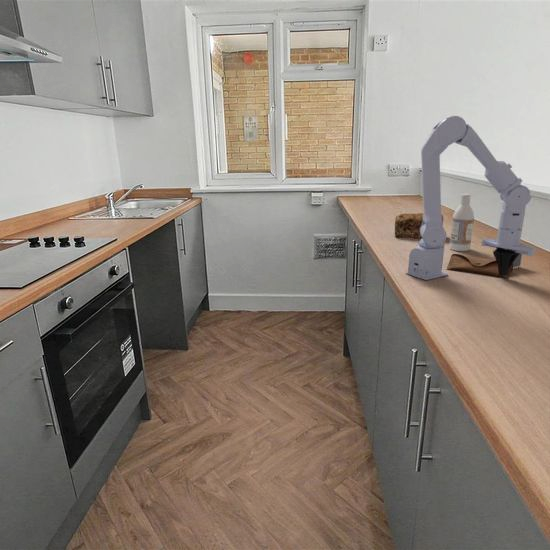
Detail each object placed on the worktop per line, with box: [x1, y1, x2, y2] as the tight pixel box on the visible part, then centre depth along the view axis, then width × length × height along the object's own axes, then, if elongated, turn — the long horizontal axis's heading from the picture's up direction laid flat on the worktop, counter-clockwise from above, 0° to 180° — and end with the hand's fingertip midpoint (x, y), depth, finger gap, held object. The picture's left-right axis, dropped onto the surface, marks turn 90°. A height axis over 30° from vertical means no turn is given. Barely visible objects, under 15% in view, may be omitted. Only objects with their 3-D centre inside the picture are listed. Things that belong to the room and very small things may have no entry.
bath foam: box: [448, 193, 475, 252], centre depth 147 cm, size 7×7×20 cm
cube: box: [493, 248, 523, 270], centre depth 128 cm, size 6×6×6 cm
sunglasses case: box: [445, 253, 514, 279], centre depth 125 cm, size 18×7×7 cm
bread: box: [394, 212, 444, 240], centre depth 170 cm, size 19×11×10 cm, turn 68°
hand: (502, 274), depth 117 cm, fingers closed
